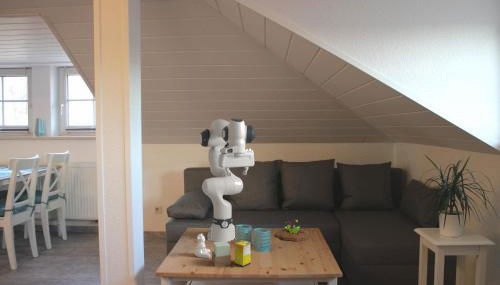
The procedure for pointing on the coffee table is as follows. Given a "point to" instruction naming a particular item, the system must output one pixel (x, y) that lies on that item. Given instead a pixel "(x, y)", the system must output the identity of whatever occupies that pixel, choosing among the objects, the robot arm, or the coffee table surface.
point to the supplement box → (242, 253)
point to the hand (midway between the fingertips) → (236, 175)
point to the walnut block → (221, 260)
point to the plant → (292, 233)
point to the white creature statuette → (201, 248)
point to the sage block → (221, 249)
